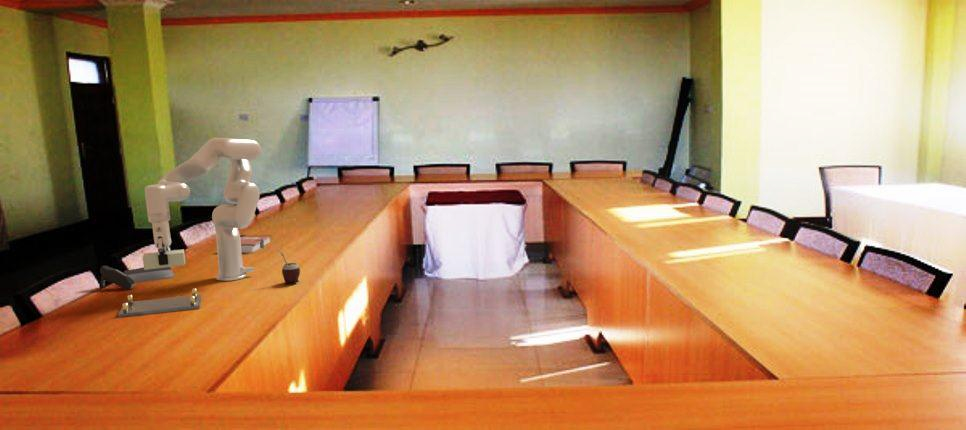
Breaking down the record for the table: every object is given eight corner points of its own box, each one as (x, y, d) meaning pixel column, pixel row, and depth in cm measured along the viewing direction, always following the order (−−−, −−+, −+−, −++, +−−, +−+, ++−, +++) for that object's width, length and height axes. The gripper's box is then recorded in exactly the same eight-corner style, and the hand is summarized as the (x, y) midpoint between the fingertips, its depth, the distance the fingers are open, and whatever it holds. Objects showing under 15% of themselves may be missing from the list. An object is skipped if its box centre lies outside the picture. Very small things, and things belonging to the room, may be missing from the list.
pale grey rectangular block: (185, 261, 251) (183, 249, 250) (184, 265, 245) (183, 252, 244) (145, 266, 245) (144, 253, 245) (144, 269, 240) (142, 257, 239)
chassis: (201, 297, 244) (200, 286, 243) (199, 308, 230) (198, 297, 229) (125, 305, 235) (124, 294, 234) (118, 317, 221) (116, 305, 220)
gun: (126, 303, 257) (133, 282, 255) (93, 283, 259) (100, 263, 256) (131, 301, 260) (138, 280, 257) (99, 282, 261) (106, 261, 259)
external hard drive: (175, 278, 274) (174, 269, 274) (123, 285, 264) (122, 276, 264) (171, 272, 285) (170, 263, 285) (122, 278, 275) (121, 269, 275)
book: (254, 254, 320) (253, 244, 320) (220, 254, 321) (219, 244, 320) (272, 243, 346) (271, 234, 346) (240, 243, 347) (239, 234, 346)
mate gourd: (303, 282, 263) (301, 247, 261) (286, 286, 258) (284, 250, 255) (294, 279, 268) (292, 245, 266) (277, 283, 263) (274, 248, 260)
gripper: (167, 220, 235) (173, 266, 239) (172, 212, 251) (177, 256, 254) (145, 221, 233) (151, 269, 236) (151, 214, 248) (156, 258, 252)
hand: (164, 262), depth 245 cm, fingers closed on pale grey rectangular block, 6 cm apart
